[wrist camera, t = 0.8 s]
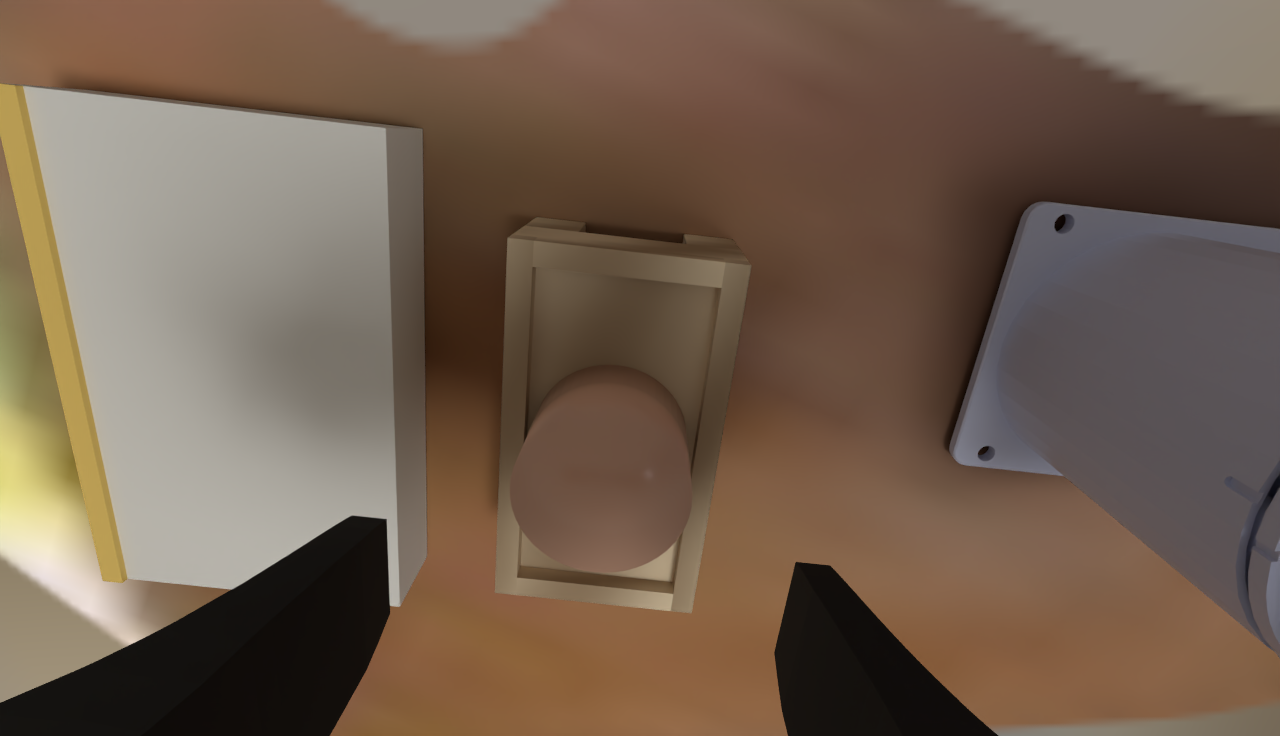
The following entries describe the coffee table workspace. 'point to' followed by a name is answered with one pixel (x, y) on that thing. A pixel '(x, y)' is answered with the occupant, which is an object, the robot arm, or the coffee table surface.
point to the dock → (228, 325)
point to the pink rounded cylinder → (604, 471)
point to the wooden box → (626, 336)
